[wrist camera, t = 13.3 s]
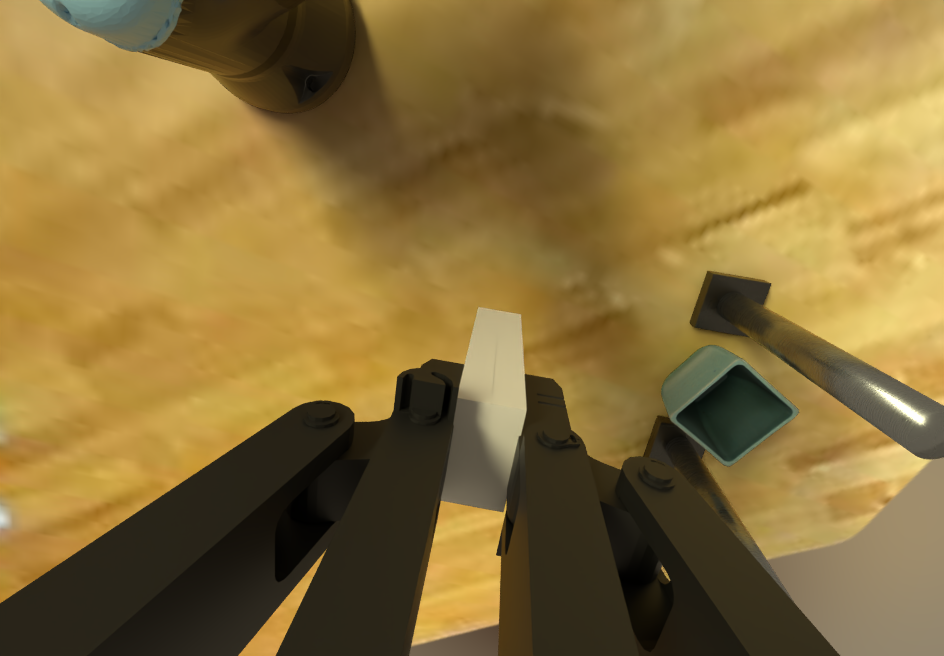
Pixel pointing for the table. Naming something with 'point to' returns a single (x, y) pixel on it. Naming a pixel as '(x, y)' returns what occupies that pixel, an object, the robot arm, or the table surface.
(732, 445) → the flower pot
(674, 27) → the table surface
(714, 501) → the post
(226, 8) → the robot arm
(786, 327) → the post
